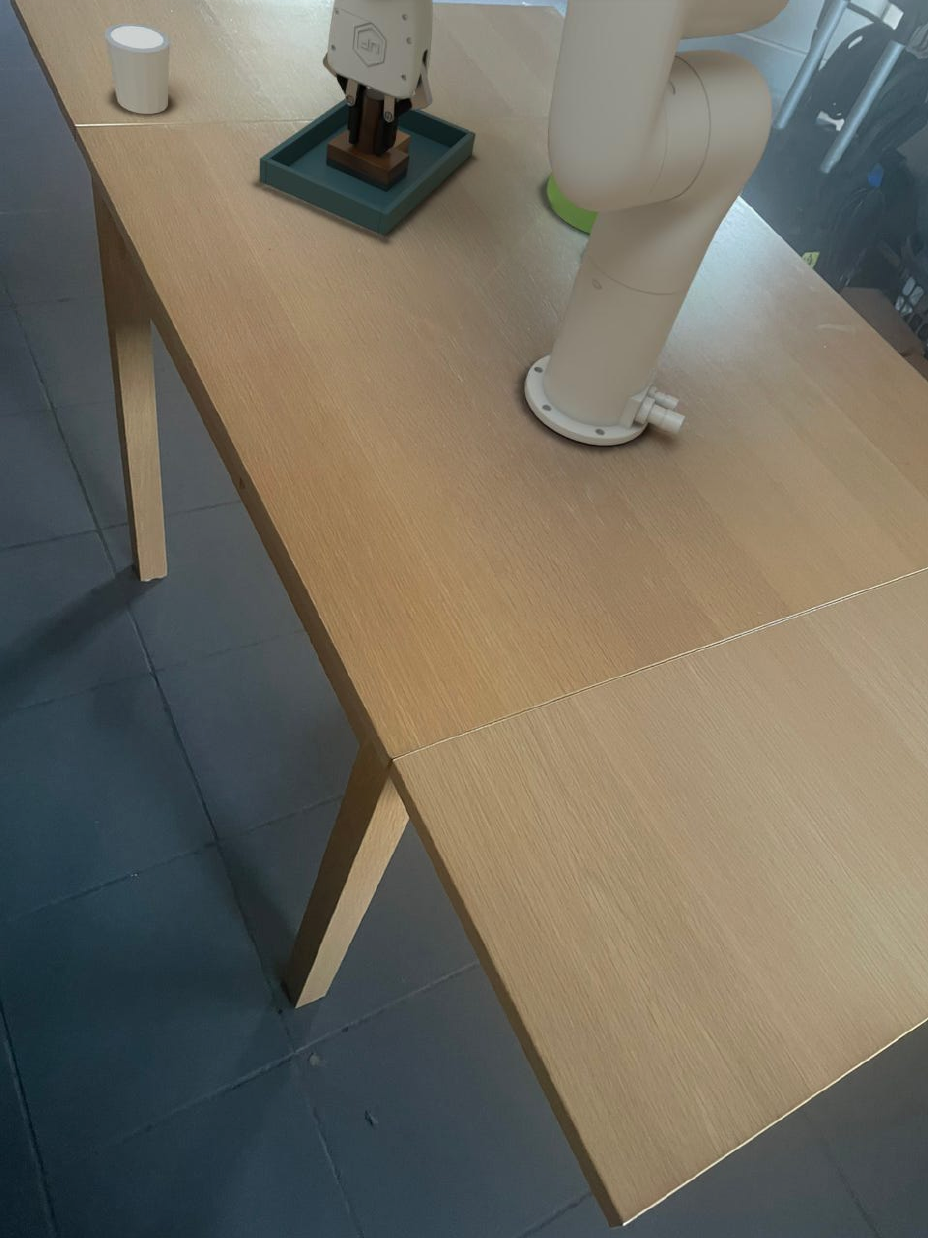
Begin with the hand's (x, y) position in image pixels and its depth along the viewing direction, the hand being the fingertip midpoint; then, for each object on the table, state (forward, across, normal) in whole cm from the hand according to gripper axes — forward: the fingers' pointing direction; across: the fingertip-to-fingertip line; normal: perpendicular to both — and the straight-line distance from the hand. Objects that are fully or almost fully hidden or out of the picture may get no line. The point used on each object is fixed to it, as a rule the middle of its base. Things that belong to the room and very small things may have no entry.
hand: (370, 143), depth 104 cm
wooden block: (+3, 0, +4) cm, 5 cm away
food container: (+4, +28, +10) cm, 30 cm away
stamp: (+3, 0, 0) cm, 3 cm away
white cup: (+4, -27, -5) cm, 28 cm away
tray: (+3, 0, +1) cm, 4 cm away
